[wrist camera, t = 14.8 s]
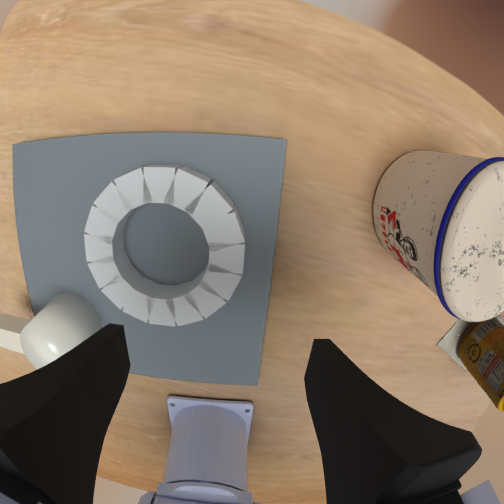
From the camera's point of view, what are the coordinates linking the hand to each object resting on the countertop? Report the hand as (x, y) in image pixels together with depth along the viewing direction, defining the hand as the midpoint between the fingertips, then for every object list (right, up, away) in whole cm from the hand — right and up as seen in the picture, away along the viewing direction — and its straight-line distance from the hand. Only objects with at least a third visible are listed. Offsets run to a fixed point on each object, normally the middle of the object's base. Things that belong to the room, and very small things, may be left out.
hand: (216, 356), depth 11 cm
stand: (-7, +3, +10) cm, 13 cm away
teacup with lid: (+15, +6, +9) cm, 19 cm away
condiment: (+25, -5, +14) cm, 29 cm away
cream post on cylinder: (-15, -1, +10) cm, 18 cm away
